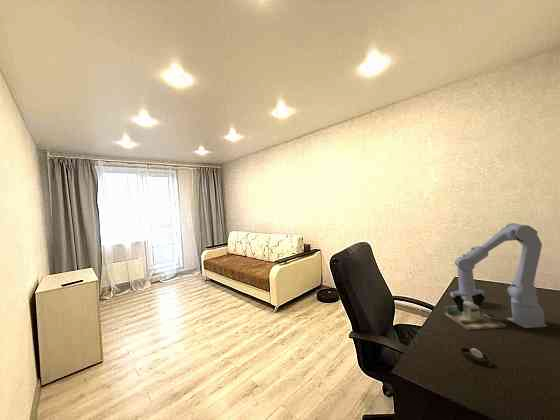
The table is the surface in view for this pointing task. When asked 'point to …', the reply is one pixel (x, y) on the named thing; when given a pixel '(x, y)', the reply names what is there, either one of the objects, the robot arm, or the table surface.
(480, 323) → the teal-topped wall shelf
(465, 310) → the beige rectangular block
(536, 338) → the table surface
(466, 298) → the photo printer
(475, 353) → the watch
